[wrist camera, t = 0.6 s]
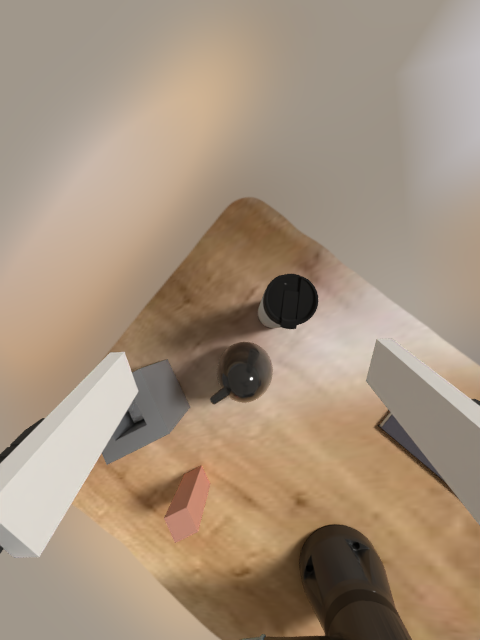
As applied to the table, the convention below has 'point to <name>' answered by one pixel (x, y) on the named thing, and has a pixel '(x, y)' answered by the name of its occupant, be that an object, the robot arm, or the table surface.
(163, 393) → the socket block
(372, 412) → the table surface
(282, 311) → the travel mug
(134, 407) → the recessed square insert
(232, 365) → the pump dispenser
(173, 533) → the peg
